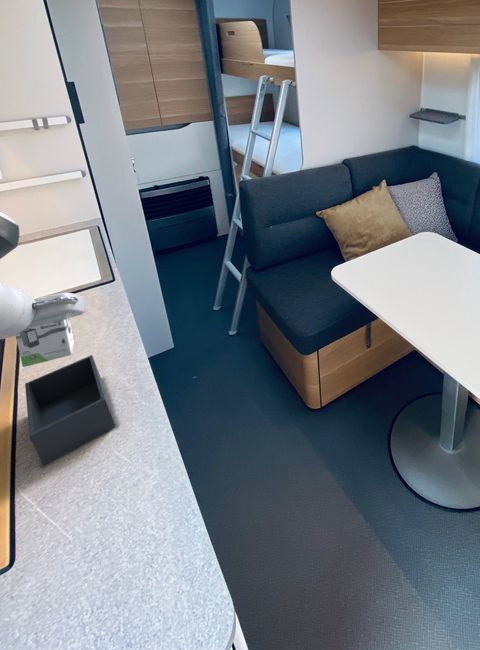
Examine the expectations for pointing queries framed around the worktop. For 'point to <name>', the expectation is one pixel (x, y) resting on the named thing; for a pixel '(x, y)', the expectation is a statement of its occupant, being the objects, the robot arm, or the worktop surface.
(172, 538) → the worktop surface
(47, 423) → the bin
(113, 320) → the worktop surface
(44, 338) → the ink box
